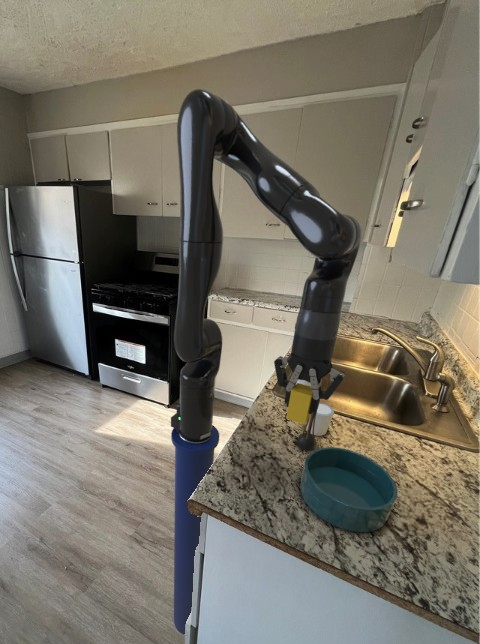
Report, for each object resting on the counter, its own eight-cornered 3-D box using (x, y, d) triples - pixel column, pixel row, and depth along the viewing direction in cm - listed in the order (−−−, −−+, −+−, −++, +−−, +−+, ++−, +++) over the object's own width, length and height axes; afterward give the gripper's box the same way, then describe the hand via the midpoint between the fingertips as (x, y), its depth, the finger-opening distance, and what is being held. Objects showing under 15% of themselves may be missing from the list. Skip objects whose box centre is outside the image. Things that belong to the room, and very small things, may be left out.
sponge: (286, 418, 67) (291, 390, 64) (292, 410, 70) (297, 382, 67) (304, 425, 65) (311, 395, 62) (310, 416, 68) (316, 388, 65)
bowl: (289, 503, 65) (294, 481, 62) (312, 457, 78) (317, 437, 75) (383, 549, 56) (393, 526, 53) (391, 489, 69) (400, 468, 66)
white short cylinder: (325, 424, 91) (331, 403, 88) (331, 438, 85) (337, 417, 82) (301, 421, 92) (305, 400, 89) (304, 435, 86) (309, 413, 83)
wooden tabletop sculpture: (311, 437, 85) (327, 370, 76) (322, 447, 81) (340, 379, 72) (292, 440, 83) (306, 373, 75) (303, 452, 79) (319, 382, 71)
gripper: (360, 334, 58) (339, 412, 66) (285, 320, 65) (274, 391, 73) (352, 345, 53) (331, 429, 60) (272, 329, 60) (261, 405, 67)
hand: (300, 408), depth 66 cm, fingers closed on sponge, 4 cm apart
